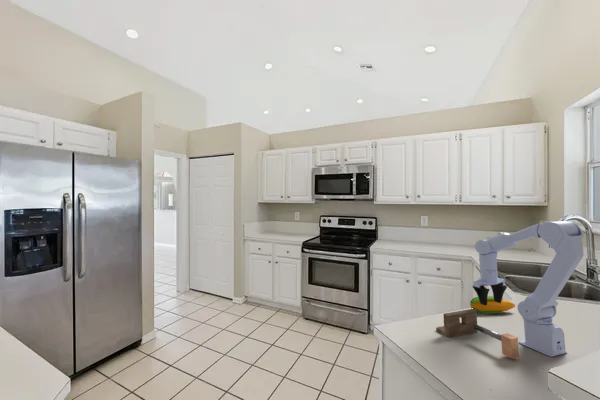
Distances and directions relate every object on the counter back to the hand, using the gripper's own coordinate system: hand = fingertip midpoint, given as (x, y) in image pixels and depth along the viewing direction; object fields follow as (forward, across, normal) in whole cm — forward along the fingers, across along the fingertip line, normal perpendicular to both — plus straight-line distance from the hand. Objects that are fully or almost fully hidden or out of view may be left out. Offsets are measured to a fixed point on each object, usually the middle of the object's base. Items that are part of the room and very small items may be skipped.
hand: (490, 303), depth 103 cm
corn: (+10, -15, -11) cm, 21 cm away
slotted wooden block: (+9, +16, -2) cm, 19 cm away
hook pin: (+9, +16, +13) cm, 22 cm away
